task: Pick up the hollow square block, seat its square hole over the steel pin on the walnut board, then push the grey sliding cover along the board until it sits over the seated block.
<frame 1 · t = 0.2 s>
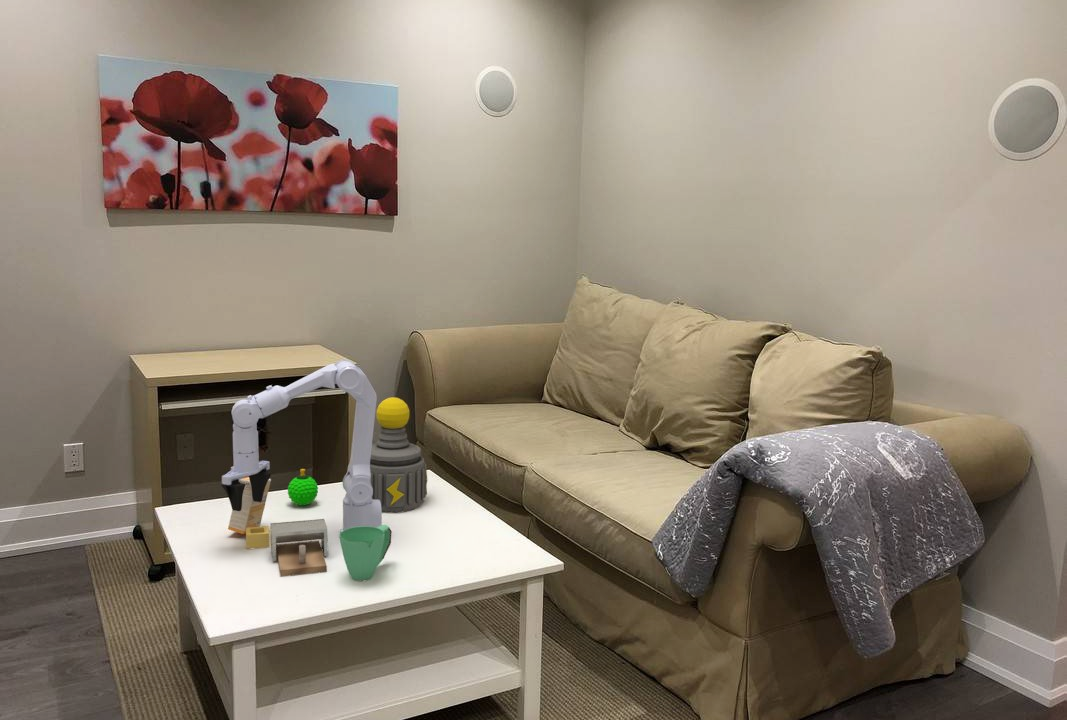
hand: (247, 505, 212), 10 cm above the table, tool pointing down, fingers open, 7 cm apart
hollow square block: (257, 544, 214), on the table
cover: (299, 539, 209), point 4 cm above the table, slide at 0.0 cm
mug: (368, 573, 200), on the table
ornament: (303, 505, 244), on the table
decorative lamp: (392, 503, 248), on the table
pin board: (300, 560, 205), on the table
supplement box: (243, 529, 222), point 1 cm above the table
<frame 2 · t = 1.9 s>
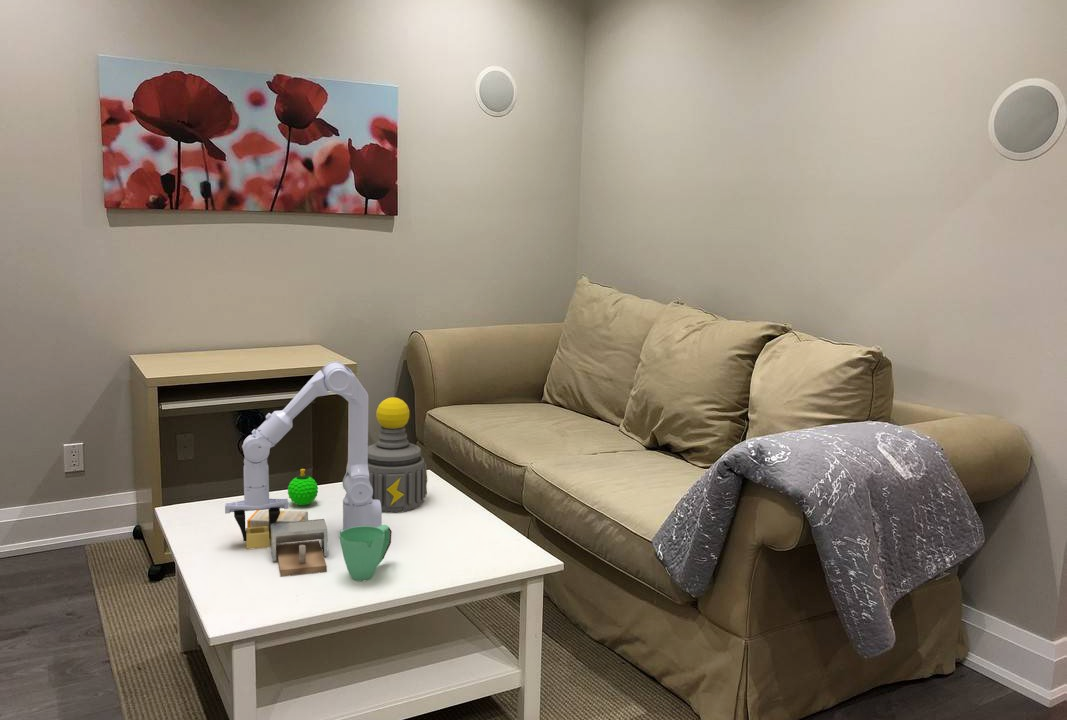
hand: (257, 538, 214), 1 cm above the table, tool pointing down, fingers closed on hollow square block, 5 cm apart
hollow square block: (257, 544, 214), on the table, touching gripper
supplement box: (251, 523, 222), point 2 cm above the table
everything else where it was.
when the fingers open (5 cm above the table, at t = 5.7 s): hollow square block drops 1 cm, resting on pin board.
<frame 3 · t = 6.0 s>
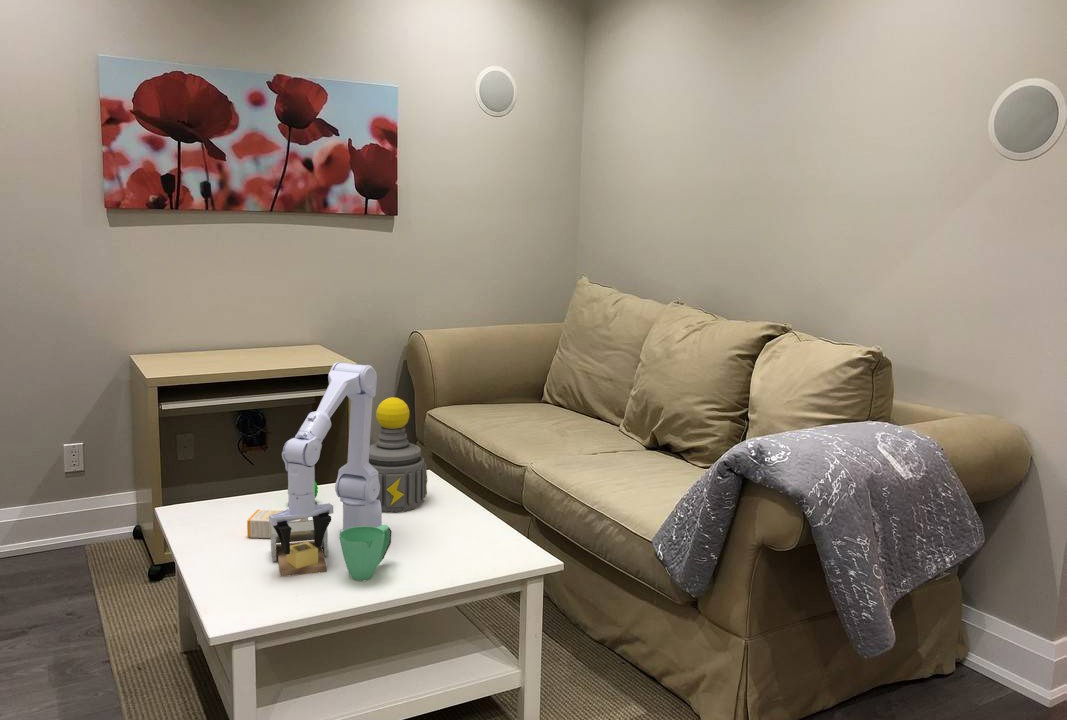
hand: (302, 549, 200), 5 cm above the table, tool pointing down, fingers open, 7 cm apart
hollow square block: (302, 562, 201), point 1 cm above the table, touching pin board
everything else where it was.
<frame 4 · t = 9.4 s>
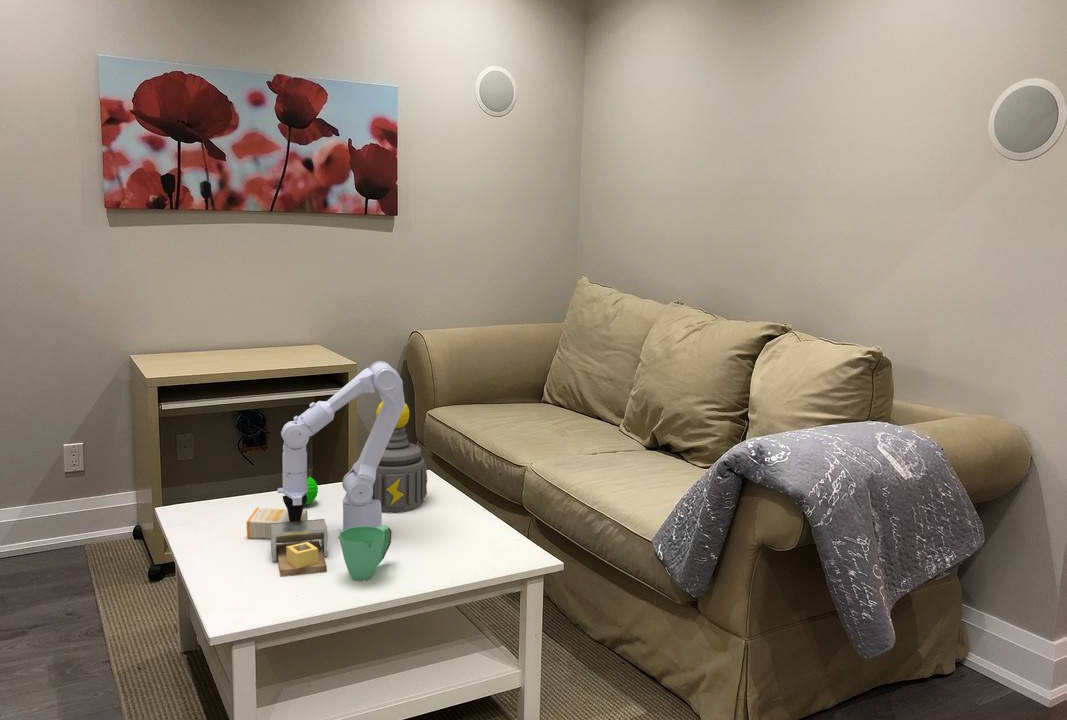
hand: (294, 524, 216), 4 cm above the table, tool pointing down, fingers closed, pressing on supplement box
supplement box: (251, 522, 221), point 3 cm above the table, touching gripper
everything else where it was.
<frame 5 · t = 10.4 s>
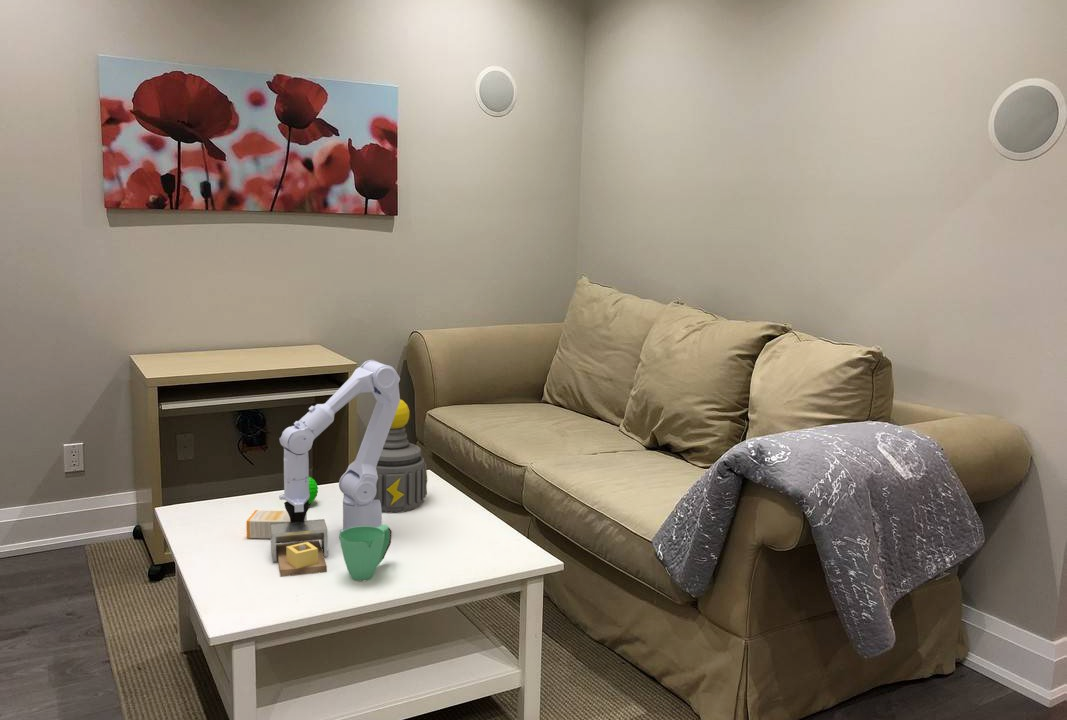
hand: (297, 531, 213), 4 cm above the table, tool pointing down, fingers closed
cover: (299, 539, 208), point 4 cm above the table, slide at 0.2 cm, touching gripper
supplement box: (250, 523, 221), point 2 cm above the table
everything else where it was.
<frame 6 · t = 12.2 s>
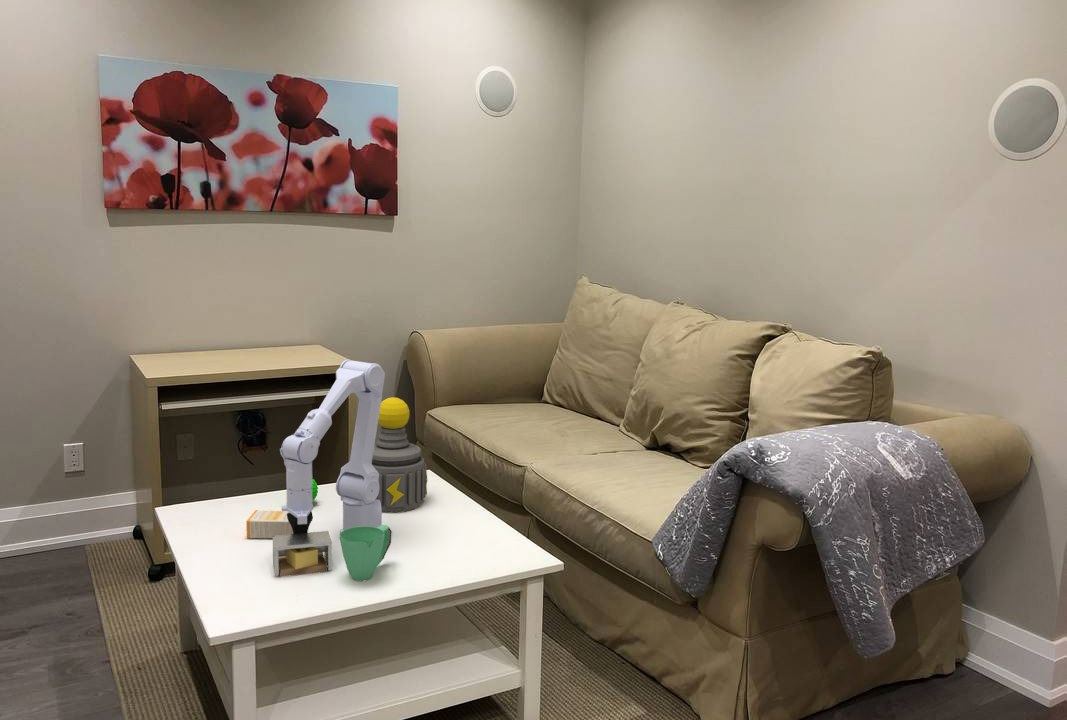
hand: (300, 543, 205), 4 cm above the table, tool pointing down, fingers closed
hollow square block: (302, 562, 200), point 1 cm above the table, touching cover, pin board
cover: (302, 552, 201), point 4 cm above the table, slide at 8.4 cm, touching gripper, hollow square block
everything else where it was.
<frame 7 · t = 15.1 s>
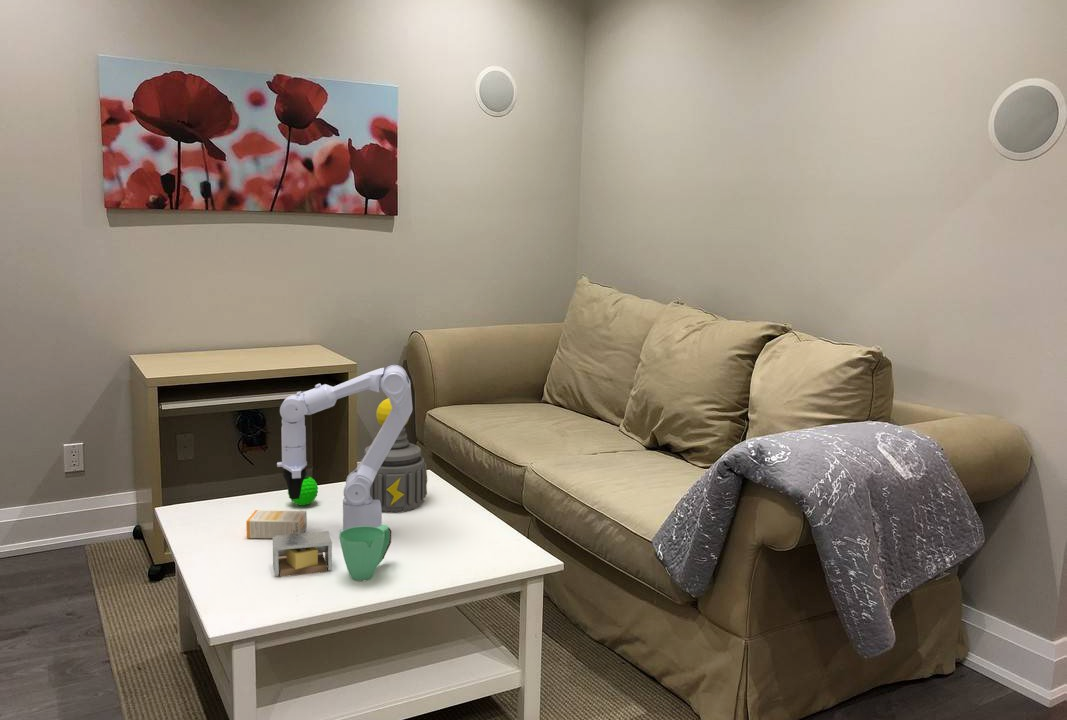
hand: (294, 498, 219), 10 cm above the table, tool pointing down, fingers closed
cover: (302, 552, 201), point 4 cm above the table, slide at 8.5 cm, touching hollow square block
everything else where it was.
at the end: hollow square block 0.1 cm from the target spot on the pin board, point 1.5 cm above the pin board's base; hollow square block tilted 0°; cover slide at 8.5 cm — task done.
